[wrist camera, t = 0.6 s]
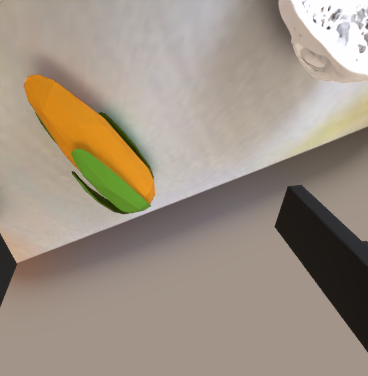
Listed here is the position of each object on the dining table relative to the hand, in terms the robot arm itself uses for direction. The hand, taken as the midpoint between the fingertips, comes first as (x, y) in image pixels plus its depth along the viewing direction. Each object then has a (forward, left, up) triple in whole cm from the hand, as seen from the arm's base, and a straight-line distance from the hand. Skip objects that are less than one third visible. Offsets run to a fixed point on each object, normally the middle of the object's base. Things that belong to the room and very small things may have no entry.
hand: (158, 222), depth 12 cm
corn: (+10, -5, -19) cm, 21 cm away
